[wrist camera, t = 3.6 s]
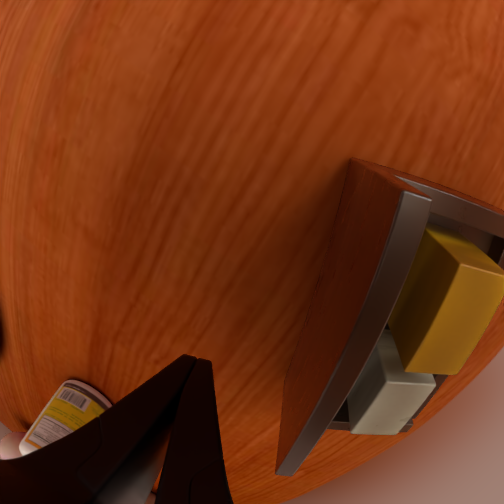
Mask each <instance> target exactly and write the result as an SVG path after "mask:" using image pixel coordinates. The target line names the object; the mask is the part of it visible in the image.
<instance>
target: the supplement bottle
mask: <svg viewBox="0 0 504 504" xmlns="http://www.w3.org/2000/svg"><path fill="white" fill-rule="evenodd" d="M111 406H112V405H111V403H110V402H109V401H108V400H107V399H106V398H105V397H104V396H103V395H102V394H101V393H99V392H98V391H97V390H95V389H94V388H92V387H91V386H89V385H87V384H85V383H83V382H80V381H76V380H67V381H65V382H63V384H62V385H61V386H60V387H59V389H58V390H57V391H56V393H55V394H54V395H53V397H52V398H51V399H50V401H49V402H48V403H47V405H46V406H45V408H44V409H43V410H42V412H41V413H40V415H39V416H38V418H37V419H36V420H35V422H34V423H33V425H32V426H31V428H30V429H29V430H28V432H27V433H26V435H25V436H24V438H23V439H22V441H21V442H20V444H19V450H20V452H21V454H22V455H23V456H24V455H26V454H28V453H31V452H33V451H35V450H37V449H39V448H42V447H44V446H46V445H48V444H50V443H52V442H54V441H56V440H58V439H60V438H62V437H64V436H66V435H68V434H70V433H72V432H74V431H75V430H77V429H78V428H80V427H82V426H83V425H85V424H86V423H88V422H89V421H91V420H92V419H94V418H95V417H99V415H100V414H101V413H103V412H104V411H105V410H107V409H108V408H110V407H111Z"/></svg>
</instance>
